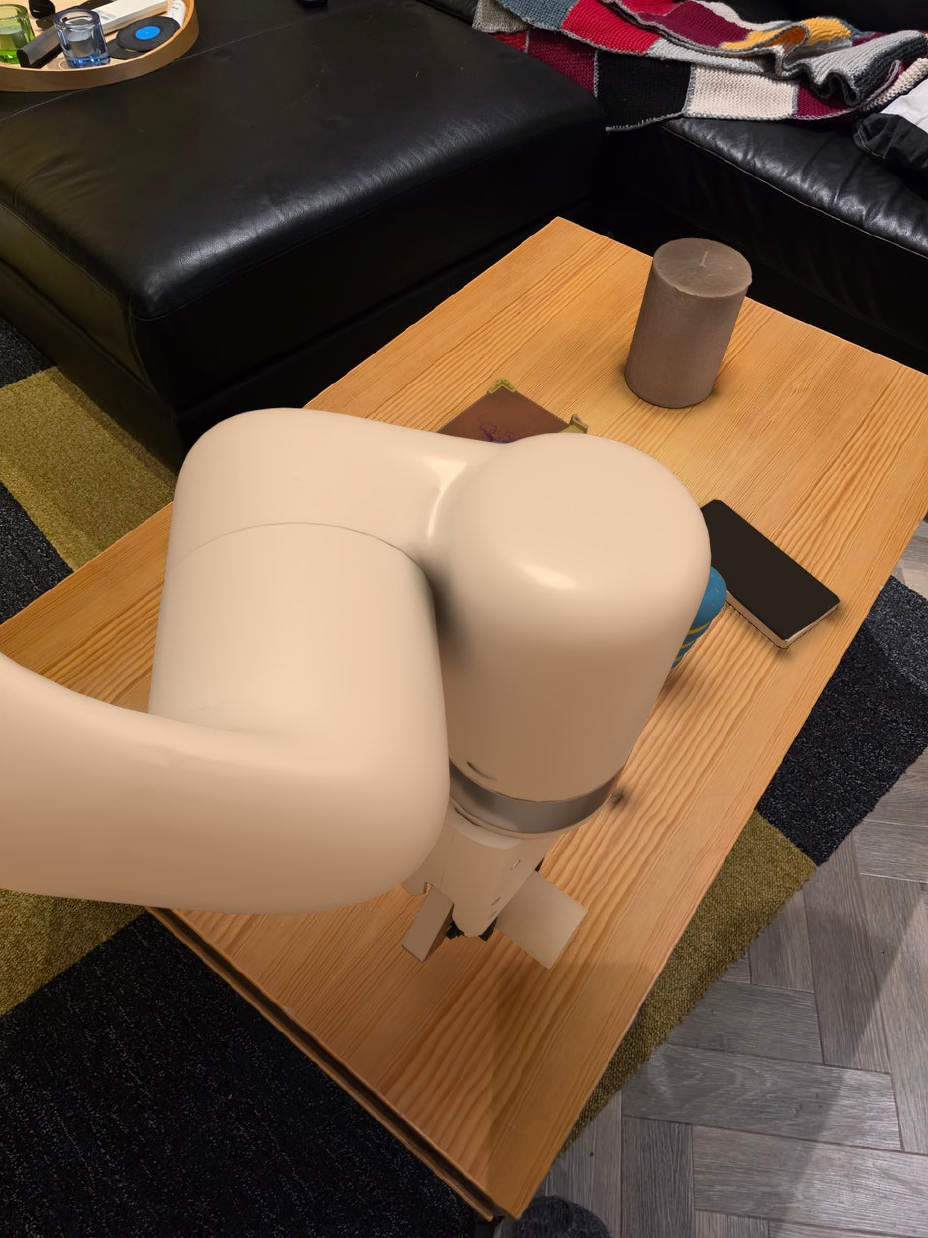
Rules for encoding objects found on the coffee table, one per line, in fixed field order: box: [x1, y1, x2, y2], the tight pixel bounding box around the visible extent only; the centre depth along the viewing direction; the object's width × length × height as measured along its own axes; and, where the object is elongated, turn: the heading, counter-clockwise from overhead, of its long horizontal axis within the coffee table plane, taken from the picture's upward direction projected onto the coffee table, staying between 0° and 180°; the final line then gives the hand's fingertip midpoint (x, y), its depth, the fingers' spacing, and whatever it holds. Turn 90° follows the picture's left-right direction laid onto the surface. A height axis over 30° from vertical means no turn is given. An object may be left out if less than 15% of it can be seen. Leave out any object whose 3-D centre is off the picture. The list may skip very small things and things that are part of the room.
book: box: [434, 377, 590, 444], centre depth 82 cm, size 16×25×5 cm, turn 47°
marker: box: [494, 870, 589, 970], centre depth 47 cm, size 10×4×4 cm, turn 52°
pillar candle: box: [624, 237, 753, 409], centre depth 89 cm, size 10×10×15 cm
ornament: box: [670, 566, 727, 671], centre depth 67 cm, size 5×5×15 cm
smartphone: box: [699, 498, 841, 649], centre depth 80 cm, size 8×1×15 cm
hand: (490, 887), depth 48 cm, fingers closed on marker, 3 cm apart
